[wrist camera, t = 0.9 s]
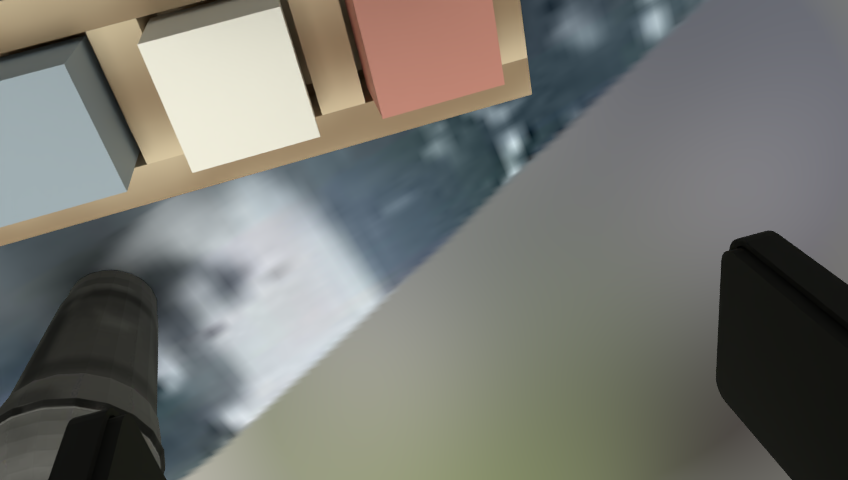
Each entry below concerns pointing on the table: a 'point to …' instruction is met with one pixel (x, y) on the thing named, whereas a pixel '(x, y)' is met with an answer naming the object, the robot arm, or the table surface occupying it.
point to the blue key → (59, 132)
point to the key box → (171, 174)
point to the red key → (425, 50)
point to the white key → (229, 80)
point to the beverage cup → (85, 373)
